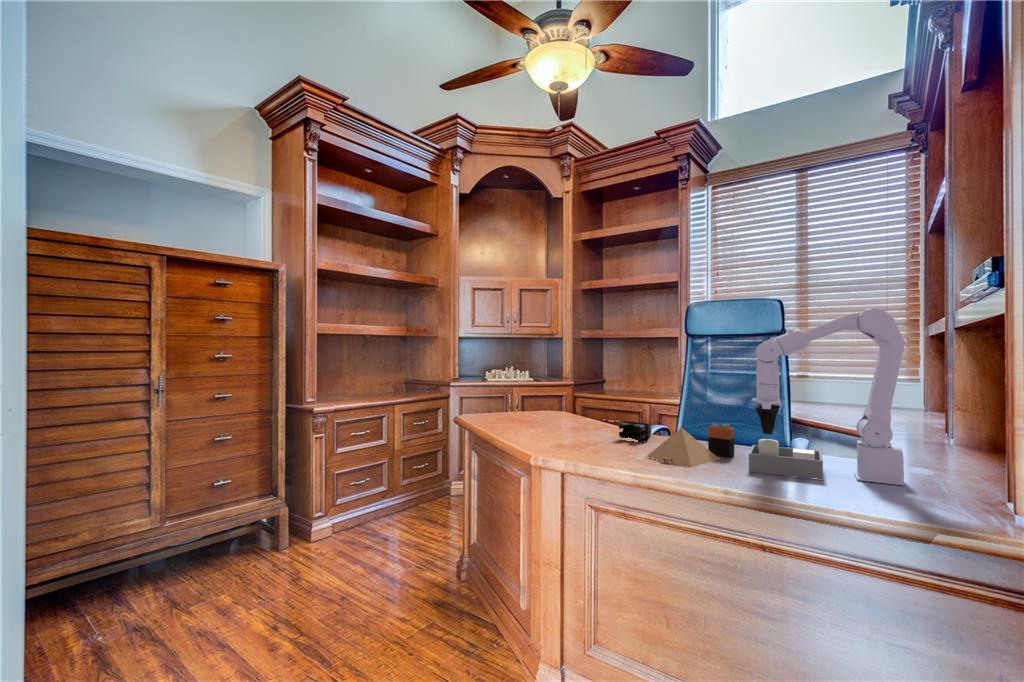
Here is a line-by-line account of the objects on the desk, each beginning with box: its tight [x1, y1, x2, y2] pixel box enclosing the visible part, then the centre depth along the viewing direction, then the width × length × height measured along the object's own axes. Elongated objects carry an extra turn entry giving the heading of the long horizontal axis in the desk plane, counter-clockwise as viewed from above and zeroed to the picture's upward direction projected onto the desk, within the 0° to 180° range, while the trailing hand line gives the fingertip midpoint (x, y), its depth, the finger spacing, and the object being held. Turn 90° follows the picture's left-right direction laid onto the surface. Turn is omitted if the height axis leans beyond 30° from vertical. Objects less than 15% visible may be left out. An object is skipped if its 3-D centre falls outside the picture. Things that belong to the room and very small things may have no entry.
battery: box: [707, 422, 735, 459], centre depth 151 cm, size 4×7×10 cm, turn 44°
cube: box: [793, 448, 815, 460], centre depth 130 cm, size 5×5×5 cm
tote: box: [748, 444, 824, 480], centre depth 132 cm, size 17×13×5 cm
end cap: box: [618, 420, 652, 443], centre depth 176 cm, size 10×7×7 cm
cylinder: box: [758, 438, 780, 456], centre depth 134 cm, size 5×5×7 cm
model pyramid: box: [645, 427, 720, 468], centre depth 147 cm, size 17×17×10 cm
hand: (768, 431), depth 134 cm, fingers open, 7 cm apart
